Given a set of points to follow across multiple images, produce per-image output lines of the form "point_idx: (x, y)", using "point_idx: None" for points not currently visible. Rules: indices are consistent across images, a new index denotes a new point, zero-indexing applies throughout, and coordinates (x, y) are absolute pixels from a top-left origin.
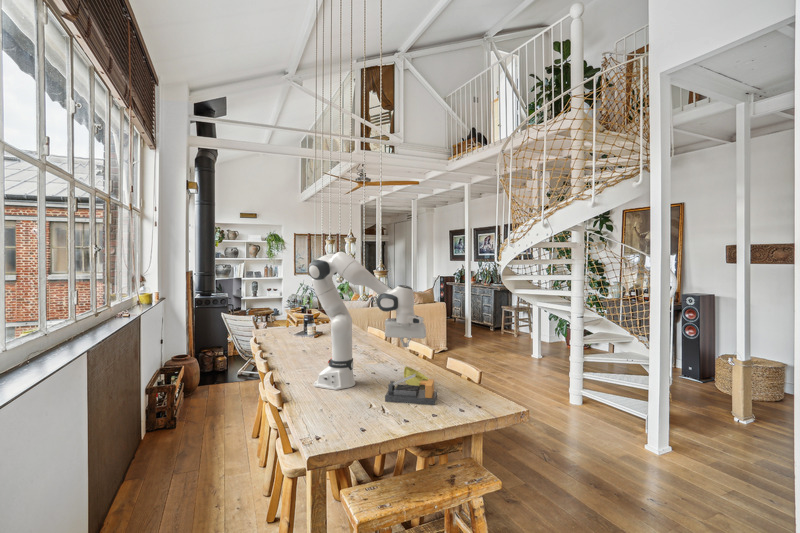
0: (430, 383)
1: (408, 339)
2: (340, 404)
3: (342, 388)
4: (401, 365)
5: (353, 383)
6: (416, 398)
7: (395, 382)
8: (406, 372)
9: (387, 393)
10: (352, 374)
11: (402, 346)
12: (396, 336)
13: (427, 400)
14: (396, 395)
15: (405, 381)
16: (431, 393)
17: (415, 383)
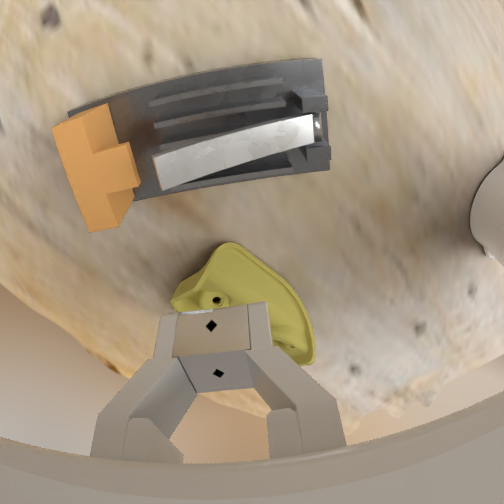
0: (71, 161)
1: (128, 431)
2: (467, 6)
3: (500, 163)
4: (343, 396)
5: (478, 206)
6: (149, 85)
7: (291, 128)
8: (302, 336)
9: (318, 88)
10: (500, 228)
11: (263, 301)
12: (451, 441)
13: (100, 99)
14: (261, 74)
15: (293, 291)
16: (70, 117)
17: (237, 273)
